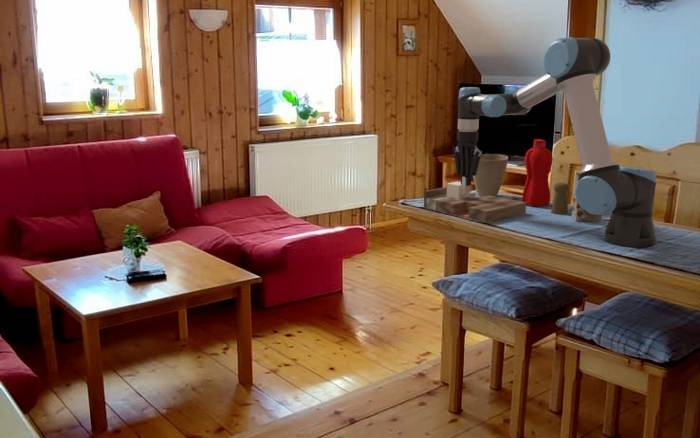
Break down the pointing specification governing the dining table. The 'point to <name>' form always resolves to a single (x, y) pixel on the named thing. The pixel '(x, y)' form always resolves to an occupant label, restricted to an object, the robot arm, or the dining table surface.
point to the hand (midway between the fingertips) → (465, 193)
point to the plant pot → (490, 174)
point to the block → (455, 190)
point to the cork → (560, 199)
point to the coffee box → (578, 212)
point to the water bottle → (537, 175)
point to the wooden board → (473, 206)
